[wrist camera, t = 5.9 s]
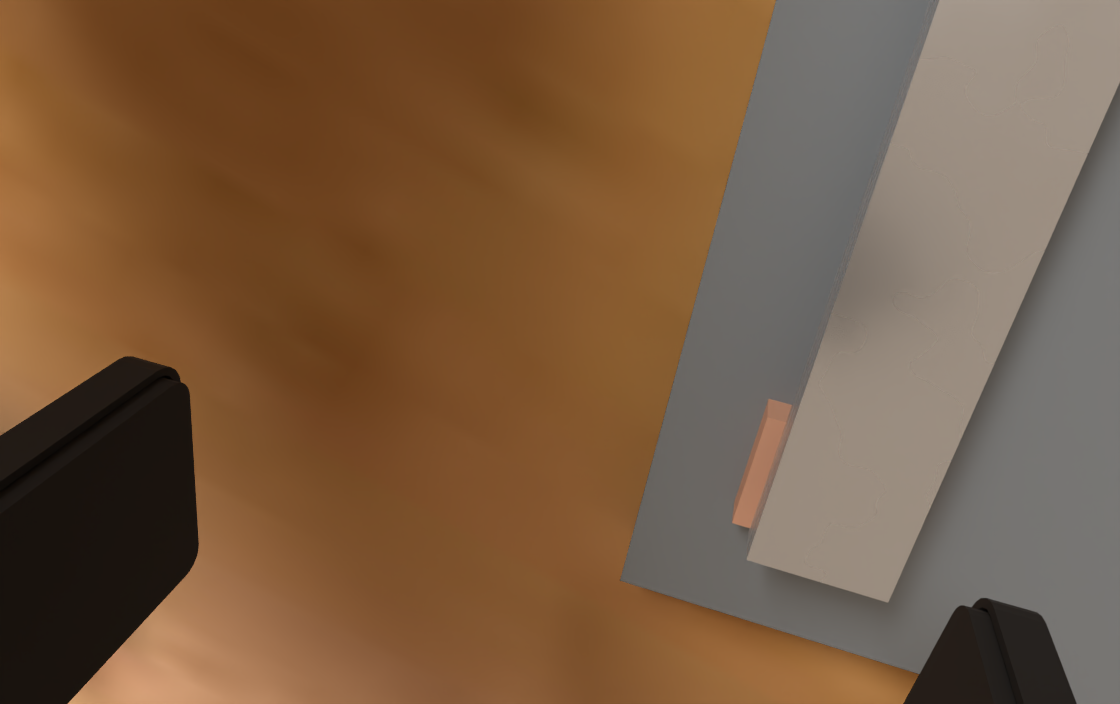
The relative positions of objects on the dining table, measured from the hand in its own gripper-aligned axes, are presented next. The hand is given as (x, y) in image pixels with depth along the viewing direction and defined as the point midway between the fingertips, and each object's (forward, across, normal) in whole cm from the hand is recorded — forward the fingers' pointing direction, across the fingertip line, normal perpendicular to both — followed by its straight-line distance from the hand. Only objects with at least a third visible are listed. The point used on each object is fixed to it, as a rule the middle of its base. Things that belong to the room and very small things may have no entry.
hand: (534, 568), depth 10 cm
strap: (+9, -5, -4) cm, 11 cm away
